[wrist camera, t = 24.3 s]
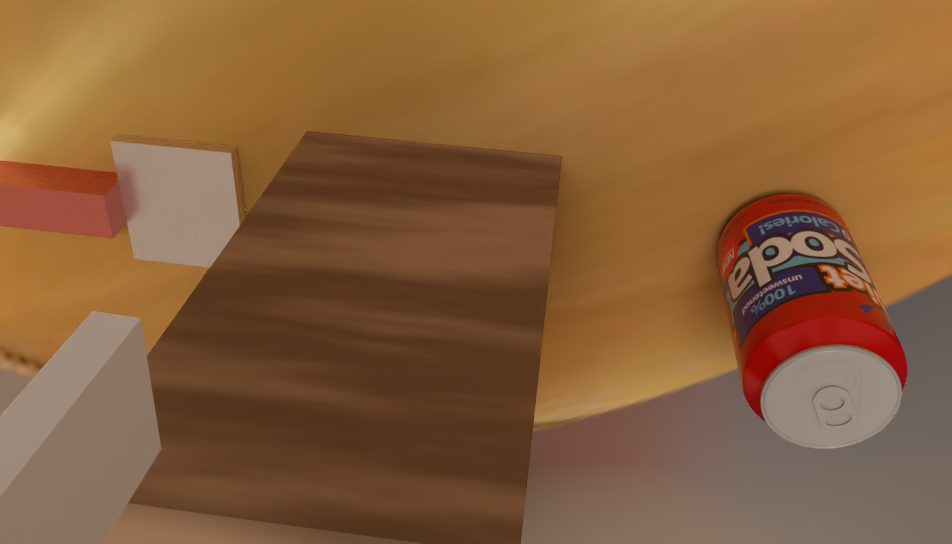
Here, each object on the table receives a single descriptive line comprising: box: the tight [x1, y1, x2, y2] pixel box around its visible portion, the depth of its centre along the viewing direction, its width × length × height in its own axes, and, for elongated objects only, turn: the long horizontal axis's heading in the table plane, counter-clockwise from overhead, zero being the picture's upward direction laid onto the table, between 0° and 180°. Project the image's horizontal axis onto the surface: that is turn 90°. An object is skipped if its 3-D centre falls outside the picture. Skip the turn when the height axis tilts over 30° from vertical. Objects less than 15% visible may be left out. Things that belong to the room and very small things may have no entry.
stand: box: [103, 131, 562, 544], centre depth 44 cm, size 12×16×30 cm
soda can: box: [717, 194, 907, 449], centre depth 48 cm, size 8×8×15 cm
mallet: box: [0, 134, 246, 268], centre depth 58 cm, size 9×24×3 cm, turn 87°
